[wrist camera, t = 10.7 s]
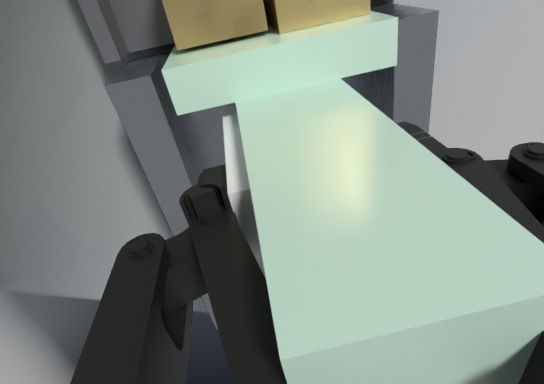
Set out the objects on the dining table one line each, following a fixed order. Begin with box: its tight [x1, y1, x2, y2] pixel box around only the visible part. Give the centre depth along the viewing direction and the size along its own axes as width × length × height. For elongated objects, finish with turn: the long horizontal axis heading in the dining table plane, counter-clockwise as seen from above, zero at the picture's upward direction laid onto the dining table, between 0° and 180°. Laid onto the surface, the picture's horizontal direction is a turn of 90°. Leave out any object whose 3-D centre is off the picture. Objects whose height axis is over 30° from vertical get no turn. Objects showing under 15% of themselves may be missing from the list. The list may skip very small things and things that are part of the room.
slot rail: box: [105, 3, 439, 329], centre depth 22 cm, size 18×15×5 cm
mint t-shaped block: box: [161, 11, 544, 384], centre depth 12 cm, size 6×9×16 cm
